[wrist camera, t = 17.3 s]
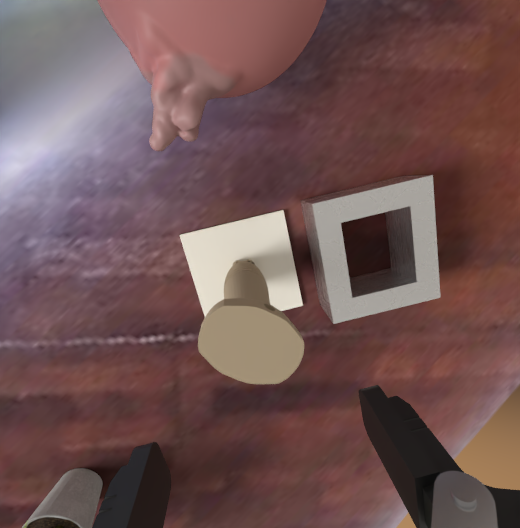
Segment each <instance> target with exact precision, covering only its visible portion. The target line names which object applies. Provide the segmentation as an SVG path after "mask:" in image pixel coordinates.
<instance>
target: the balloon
mask: <svg viewBox="0 0 520 528" xmlns="http://www.w3.org/2000/svg"><path fill="white" fill-rule="evenodd" d="M97 1H98V3H99V5H100V7H101V9H102V10H103V12H104V14H105V16H106V18H107V19H108V21H109V23H110V24H111V26H112V27H113V29H114V30H115V32H116V33H117V35H118V36H119V37H120V39H121V40H122V41H123V43H124V44H125V45H126V46H127V48H128V49H129V51H130V53H131V55H132V57H133V59H134V60H135V62H136V64H137V65H138V67H139V69H140V71H141V73H142V74H143V76H144V77H145V79H146V80H147V81H148V82H149V83H150V84H151V85H152V88H151V99H152V102H153V106H154V112H153V122H152V129H153V133H152V135H151V137H150V139H149V142H150V146H151V147H152V149H154V150H156V151H163V150H164V149H165V148H166V147H167V146H168V145H170V144H171V143H172V141H173V140H174V139H175V138H176V137H177V136H180V137H181V138H182V139H184V140H186V141H194V140H196V139H197V137H198V129H199V125H200V122H201V118H202V114H203V111H204V107H205V104H206V102H207V100H209V99H214V98H229V97H236V96H241V95H245V94H248V93H251V92H253V91H256V90H258V89H260V88H262V87H264V86H266V85H268V84H269V83H271V82H272V81H274V80H275V79H276V78H278V77H279V76H280V75H281V74H282V73H283V72H285V71H286V70H287V69H288V68H289V67H290V66H291V65H292V63H293V62H294V61H295V60H296V59H297V58H298V56H299V55H300V54H301V52H302V51H303V49H304V48H305V46H306V45H307V43H308V42H309V40H310V38H311V37H312V35H313V33H314V31H315V29H316V27H317V25H318V22H319V20H320V18H321V15H322V13H323V10H324V7H325V4H326V1H327V0H97Z"/></svg>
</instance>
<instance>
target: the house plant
mask: <svg viewBox="0 0 520 528" xmlns="http://www.w3.org/2000/svg"><path fill="white" fill-rule="evenodd" d="M102 486H103V483H102V480H101V478H100V476H99V475H98V474H97V473H95V472H94V471H91V470H89V469H84V468H77V469H73V470H70V471H68V472H67V473H65V474H64V475H63V477H62V478H61V479H60V480H59V482H58V483H57V484H56V485H55V487H54V488H53V489H52V490H51V492H50V493H49V494H48V495H47V497H46V498H45V499H44V500H43V502H42V503H41V504H40V505H39V507H38V508H37V509H36V510H35V512H34V513H33V514H32V515H31V517H30V518H29V519H28V520H27V522H26V523H25V524H24V525H23V527H22V528H92V524H93V520H94V516H95V513H96V509H97V505H98V501H99V498H100V494H101V490H102Z"/></svg>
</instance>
